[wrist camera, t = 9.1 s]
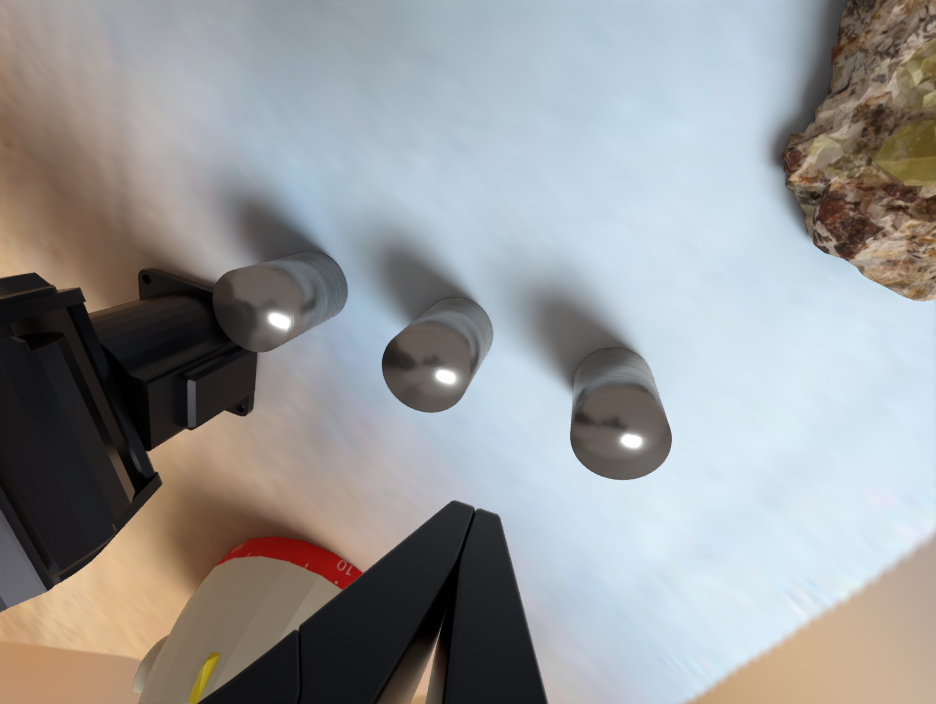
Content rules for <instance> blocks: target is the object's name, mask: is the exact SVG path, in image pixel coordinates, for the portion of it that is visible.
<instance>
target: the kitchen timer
mask: <svg viewBox="0 0 936 704" xmlns="http://www.w3.org/2000/svg"><path fill="white" fill-rule="evenodd" d="M362 574H363V573H362V572H361V571H359V570H358V569H356V568H355V567H353V566H352V565H350V564H349V563H347V562H346V561H344V560H343V559H341V558H340V557H339V556H337V555H336V554H334V553H331V552H329V551H327V550H324V549H322V548H319V547H317V546H315V545H312V544H310V543H308V542H305V541H300V540H294V539H289V538H283V537H277V536H275V537H265V538H254V539H250V540H248V541H246V542H244V543H242V544H240V545H238V546H236V547H234V548H232V550H231V551H230V552H229V553H228V554H227V555H226V556H225V557H224V558H223V559H222V560H221V561H220V562H219V563H218V564H217V565H216V566H215V567H214V568H213V570H212V571H211V572H210V573H209V575H208V576H207V577H206V578H205V580H204V581H203V582H202V583H201V585H200V586H199V587H198V588H197V590H196V591H195V592H194V594H193V595H192V597H191V598H190V599H189V601H188V602H187V604H186V605H185V607H184V609H183V610H182V612H181V614H180V616H179V617H178V619H177V621H176V623H175V625H174V626H173V628H172V630H171V632H170V634H169V635H168V636H166V637H164V638H163V639H161V640H160V641H159V642H157V643H156V644H155V645H154V646H153V647H152V649H151V650H150V651H149V652H148V653H147V655H146V656H145V658H144V659H143V661H142V662H141V664H140V666H139V668H138V670H137V672H136V675H135V678H134V681H133V689H134V692H136V693H141V696H140V699H139V703H138V704H197V703H198V702H199V701H201V700H202V699H204V698H205V697H207V696H208V695H209V694H211V693H212V692H214V691H215V690H217V689H218V688H219V687H221V686H222V685H224V684H225V683H227V682H228V681H229V680H231V679H232V678H233V677H235V676H236V675H237V674H239V673H240V672H241V671H242V670H244V669H245V668H246V667H248V666H249V665H250V664H252V663H253V662H254V661H255V660H257V659H258V658H259V657H261V656H262V655H263V654H264V653H266V652H267V651H268V650H270V649H271V648H272V647H273V646H275V645H276V644H277V643H278V642H279V641H281V640H282V639H283V638H284V637H285V636H287V635H288V634H289V633H290V632H292V631H293V630H295V629H296V630H298V629H299V626H300V625H301V624H302V623H303V622H304V621H305V620H307V619H308V618H309V617H310V616H312V615H313V614H314V613H315V612H316V611H318V610H319V609H320V608H321V607H323V606H324V605H325V604H326V603H327V602H329V601H330V600H331V599H332V598H334V597H335V596H336V595H337V594H338V593H340V592H341V591H342V590H343V589H345V588H346V587H347V586H348V585H349V584H351V583H352V582H353V581H354V580H356V579H357V578H358V577H359V576H360V575H362Z"/></svg>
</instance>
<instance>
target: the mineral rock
mask: <svg viewBox="0 0 936 704" xmlns="http://www.w3.org/2000/svg"><path fill="white" fill-rule="evenodd" d="M846 3H847V7H846V8H845V9H844V11H843V12H842V13H841V17H840V24H839V33H838V34H837V35H838V41H837V42H836V44H835V46H834V47H833V49H832V68H833V77H832V80H831V83H830V86H829V90H828V96H827V98H826V99H825V101H824V102H823V103H822V104H821V105H820V106H818V107H817V108H815V109H814V112H815V121H814V122H811V123H810V124H809V125H808V127H807V129H806V130H805V132H801V133H796V134H792V135H791V137H790V140H789V143H788V146H787V148H786V149H785V151H784V152H783V154H782V156H781V157H782V158H783V159H784V160H785V164H784V172H786V173H787V174H789V176H788V181H787V186H786V187H787V188H788V189H790V190H791V191H792V192H794V196H795V197H796V198H797V200H798V202H799V204H800V206H801V208H802V210H803V211H804V212H805V213H806V214H807V215H806V217H805V220H804V222H805V224H806V228H807V229H808V233H809V236H810V237H811V238H812V239H813V243H814V245H815V246H816V247H818V248H819V249H820V250H822V251H823V252H824V253H827V254H830V255H834V256H837V257H841V258H843V259H845V260H846V261H848V262H850V263H851V264H852V265H854V266H855V267H857V268H858V270H859V271H860V272H861V274H862V275H864V276H865V277H867V278H869V279H870V280H872V281H874V282H877V283H879V284H881V285H883V286H885V287H887V288H889V289H890V290H892V291H894V292H896V293H897V294H899V295H901V296H904V297H907V298H909V299H912V300H916V301H927V300H933V299H936V0H848V1H847V2H846Z"/></svg>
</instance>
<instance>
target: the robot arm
mask: <svg viewBox="0 0 936 704" xmlns="http://www.w3.org/2000/svg"><path fill="white" fill-rule="evenodd" d="M150 278H151V279H150ZM138 279H139V295H140V300H137V301H133V302H129V303H126V304H122V305H118V306H115V307H111V308H107V309H104V310H100V311H96V312H92V313H89V314H88V312H87V310H86V308H85V305H84V303H83V302H85V301H86V300H85V298H84V296H83V293H82V291H81V288H80V287H78V288H70V289H61V290H57V289H56V287H55V286H54V285H50V284H49V283H48V282H47V281H45V280H44V279H43V278H41V277H40V276H39V275H38V274H36V273H28V274H21V275H15V276H9V277H3V278H0V612H2V611H4V610H6V609H7V608H10V607H12V606H14V605H17V604H19V603H21V602H24V601H26V600H29V599H31V598H33V597H36V596H38V595H40V594H43V593H45V592H47V591H49V590H50V589H52V588H53V587H54V586H55V585H57V584H58V583H60V582H62V581H64V580H65V579H67V578H68V577H70V576H72V575H73V574H75V573H76V572H78V571H79V570H80V569H82V568H83V567H84V566H86V565H87V564H88V563H90V562H91V561H92V560H93V559H94V558H95V557H96V556H97V555H98V554H99V553H100V552H101V551H102V550H103V549H104V548H105V547H106V546H107V545H108V544H109V542H110V541H111V540H112V539H113V538H114V537H115V536H116V535H117V534H118V533H119V531H120V530H121V529H122V528H123V527H124V526H125V525H126V524H127V523H128V521H129V520H130V519H131V518H132V517H133V516H134V515H135V514H136V513H137V512H138V510H139V509H140V508H141V507H142V506H143V505H144V504H145V503H146V502H147V501H148V499H149V498H150V497H151V496H152V495H153V494H154V493H155V492H156V491H157V489H158V488H159V487H160V486H161V485H162V481H161V479H160V476H159V474H158V472H155V471H154V468H153V466H152V464H151V461H150V459H149V457H148V454H147V452H146V451H150V450H152V449H154V448H155V447H157V446H158V445H160V444H162V443H163V442H165V441H167V440H168V439H170V438H171V437H173V436H175V435H176V434H178V433H179V432H181V431H183V430H184V429H188V430H194V429H196V428H197V427H199V426H201V425H202V424H204V423H205V422H207V421H208V420H210V419H212V418H213V417H215V416H216V415H218V414H219V413H221V412H223V411H224V410H225V411H228V412H231V413H233V414H236V415H239V416H246V415H247V414H249V413H250V412H251V411H252V410H253V404H254V391H255V380H256V362H257V352H253V351H250V350H247V349H244V348H242V347H241V346H239V345H237V344H236V343H235V342H233V341H232V340H231V339H230V338H229V337H228V336H227V335H226V333H225V332H224V331H223V329H222V328H221V326H220V325H219V323H218V321H217V318H216V316H215V312H214V308H213V292H214V289H213V288H210V287H207V286H204V285H201V284H198V283H195V282H192V281H189V280H186V279H183V278H180V277H177V276H175V275H172V274H169V273H166V272H163V271H160V270H157V269H154V268H148V269H143V270H141V271H140V272H139V275H138ZM242 406H243V407H244V408H243V407H242ZM442 622H443V623H442ZM441 626H442V627H441ZM440 629H441V630H440ZM439 632H440V634H439ZM438 635H439V638H438ZM437 638H438V642H437V646H436V650H435V655H434V660H433V665H432V671H431V676H430V682H429V687H428V693H427V698H426V703H425V704H548V700H547V697H546V693H545V689H544V685H543V681H542V677H541V673H540V670H539V666H538V662H537V658H536V654H535V650H534V646H533V643H532V639H531V635H530V631H529V627H528V623H527V619H526V615H525V612H524V608H523V604H522V600H521V596H520V592H519V588H518V585H517V581H516V577H515V573H514V569H513V565H512V561H511V558H510V554H509V550H508V546H507V542H506V538H505V534H504V531H503V527H502V523H501V519H500V517H499V515H497V514H495V513H492V512H489V511H486V510H483V509H477V510H476V511H475V508H474V507H473V506H471V505H468V504H465V503H462V502H459V501H456V500H454V501H451V502H450V503H449V504H447V505H446V506H445V507H444V508H442V509H441V510H440V511H439V512H438V513H436V514H435V515H434V516H433V517H431V518H430V519H429V520H428V521H427V522H425V523H424V524H423V525H422V526H420V527H419V528H418V529H417V530H416V531H414V532H413V533H412V534H411V535H409V536H408V537H407V538H406V539H405V540H403V541H402V542H401V543H400V544H398V545H397V546H396V547H395V548H394V549H392V550H391V551H390V552H389V553H387V554H386V555H385V556H384V557H383V558H381V559H380V560H379V561H378V562H376V563H375V564H374V565H373V566H372V567H370V568H369V569H368V570H367V571H365V572H364V573H363V574H362V575H360V576H359V577H358V578H357V579H356V580H354V581H353V582H352V583H351V584H349V585H348V586H347V587H346V588H345V589H343V590H342V591H341V592H340V593H338V594H337V595H336V596H335V597H334V598H332V599H331V600H330V601H329V602H327V603H326V604H325V605H324V606H323V607H321V608H320V609H319V610H318V611H316V612H315V613H314V614H313V615H312V616H310V617H309V618H308V619H307V620H305V621H304V622H303V623H302V624H301V625H300V626H299V629H298V630H296V629H295V630H293V631H292V632H290V633H289V634H288V635H287V636H285V637H284V638H283V639H282V640H281V641H279V642H278V643H277V644H276V645H275V646H273V647H272V648H271V649H270V650H268V651H267V652H266V653H264V654H263V655H262V656H261V657H259V658H258V659H257V660H255V661H254V662H253V663H252V664H250V665H249V666H248V667H246V668H245V669H244V670H242V671H241V672H240V673H239V674H237V675H236V676H235V677H233V678H232V679H231V680H229V681H228V682H227V683H225V684H224V685H222V686H221V687H219V688H218V689H217V690H215V691H214V692H212V693H211V694H209V695H208V696H207V697H205V698H204V699H202V700H201V701H199V702H198V703H197V704H410V703H411V701H412V698H413V696H414V694H415V691H416V689H417V687H418V684H419V682H420V680H421V677H422V675H423V673H424V670H425V668H426V666H427V663H428V661H429V659H430V656H431V654H432V651H433V649H434V646H435V644H436V641H437Z"/></svg>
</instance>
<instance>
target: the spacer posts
mask: <svg viewBox="0 0 936 704" xmlns="http://www.w3.org/2000/svg"><path fill="white" fill-rule="evenodd" d="M347 293H348V290H347V283H346V279H345V276H344V274H343V272H342V270H341V269H340V267H339V266H338V265H337V264H336V263H335V262H334V261H333V260H332V259H331V258H330V257H328V256H326V255H325V254H322V253H320V252H316V251H306V252H301V253H297V254H294V255H290V256H286V257H282V258H278V259H274V260H270V261H266V262H262V263H259V264H255V265H251V266H247V267H243V268H239V269H235V270H232V271H229V272H227V273H225V274H224V275H223V276H222V277H221V278H220V279H219V280H218V282H217V283H216V285H215V288H214V292H213V308H214V312H215V316H216V318H217V321H218V323H219V325H220V326H221V328H222V329H223V331H224V332H225V333H226V335H227V336H228V337H229V338H230V339H231V340H232V341H233V342H235V343H236V344H237V345H239V346H241V347H242V348H244V349H247V350H250V351H253V352H267V351H270V350H273V349H275V348H277V347H278V346H280V345H282V344H284V343H286V342H288V341H289V340H291V339H293V338H295V337H297V336H299V335H301V334H302V333H304V332H306V331H308V330H310V329H312V328H313V327H315V326H317V325H319V324H321V323H323V322H325V321H326V320H328V319H330V318H332V317H334V316H335V315H337V314H338V313H339V312H340V311H341V310H342V309H343V307H344V305H345V303H346V300H347ZM492 341H493V329H492V324H491V321H490V319H489V317H488V316H487V314H486V313H485V311H484V310H483V309H482V308H481V307H480V306H478V305H477V304H476V303H474V302H472V301H470V300H468V299H464V298H459V297H451V298H446V299H443V300H441V301H439V302H437V303H436V304H434V305H433V306H432V307H431V308H430V309H428V310H427V311H426V312H425V313H423V314H422V315H421V316H420V317H419V318H417V319H416V320H415V321H414V322H412V323H411V324H410V325H409V326H408V327H406V328H405V329H404V330H403V331H401V332H400V333H399V334H398V335H397V336H395V337H394V338H393V339H392V340H391V341H390V342H389V344H388V345H387V347H386V349H385V351H384V354H383V358H382V371H383V376H384V379H385V382H386V384H387V386H388V388H389V389H390V391H391V392H392V393H393V395H394V396H395V397H396V398H397V399H398V400H400V401H401V402H402V403H403V404H405V405H407V406H408V407H410V408H412V409H415V410H418V411H422V412H431V413H432V412H440V411H444V410H447V409H449V408H451V407H452V406H454V405H455V404H456V403H457V402H458V401H459V400H460V399H461V398H462V396H463V395H464V393H465V391H466V389H467V388H468V386H469V384H470V382H471V381H472V379H473V377H474V376H475V374H476V372H477V370H478V369H479V367H480V365H481V363H482V362H483V360H484V358H485V356H486V355H487V353H488V351H489V349H490V347H491V345H492ZM570 440H571V446H572V449H573V451H574V453H575V455H576V457H577V458H578V460H579V461H580V462H581V463H582V464H583V465H584V466H585V467H586V468H588V469H589V470H590V471H592V472H594V473H595V474H598V475H600V476H602V477H606V478H609V479H615V480H630V479H636V478H640V477H643V476H645V475H647V474H649V473H651V472H653V471H654V470H656V469H657V468H658V467H659V466H660V465H661V464H662V463H663V462H664V461H665V459H666V458H667V456H668V454H669V452H670V448H671V443H672V436H671V430H670V427H669V424H668V421H667V418H666V414H665V411H664V408H663V405H662V402H661V399H660V396H659V393H658V390H657V387H656V384H655V381H654V378H653V375H652V372H651V370H650V368H649V366H648V364H647V363H646V362H645V361H644V360H643V359H642V358H641V357H640V356H638V355H637V354H635V353H633V352H631V351H628V350H625V349H620V348H607V349H602V350H599V351H596V352H594V353H592V354H590V355H589V356H587V357H586V358H585V359H584V360H583V361H582V362H581V363H580V365H579V367H578V368H577V370H576V373H575V377H574V388H573V402H572V417H571V431H570Z"/></svg>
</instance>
